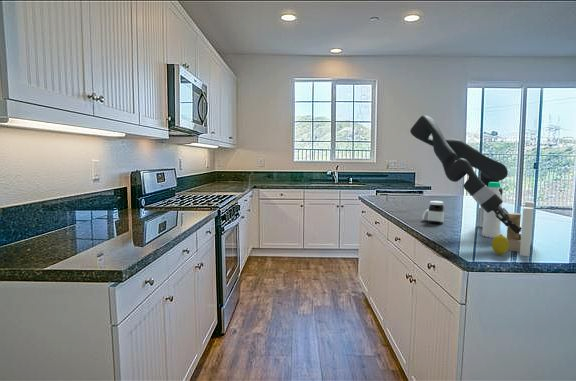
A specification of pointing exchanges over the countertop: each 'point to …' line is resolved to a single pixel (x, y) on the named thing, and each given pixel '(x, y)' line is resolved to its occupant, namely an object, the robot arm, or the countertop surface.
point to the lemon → (500, 244)
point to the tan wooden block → (516, 219)
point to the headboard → (524, 231)
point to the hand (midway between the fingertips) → (519, 231)
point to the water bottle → (492, 216)
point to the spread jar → (434, 213)
